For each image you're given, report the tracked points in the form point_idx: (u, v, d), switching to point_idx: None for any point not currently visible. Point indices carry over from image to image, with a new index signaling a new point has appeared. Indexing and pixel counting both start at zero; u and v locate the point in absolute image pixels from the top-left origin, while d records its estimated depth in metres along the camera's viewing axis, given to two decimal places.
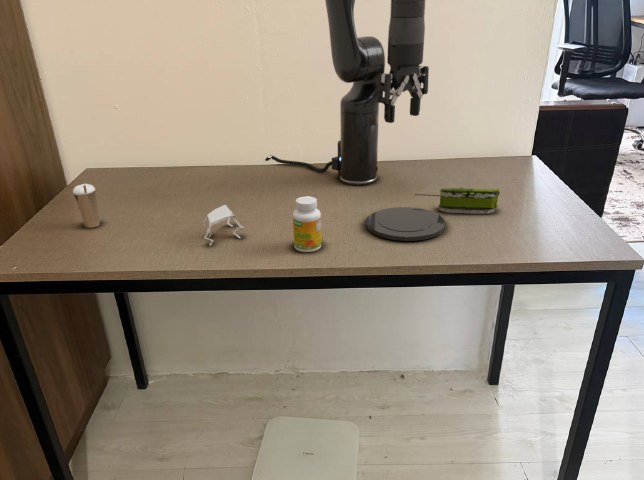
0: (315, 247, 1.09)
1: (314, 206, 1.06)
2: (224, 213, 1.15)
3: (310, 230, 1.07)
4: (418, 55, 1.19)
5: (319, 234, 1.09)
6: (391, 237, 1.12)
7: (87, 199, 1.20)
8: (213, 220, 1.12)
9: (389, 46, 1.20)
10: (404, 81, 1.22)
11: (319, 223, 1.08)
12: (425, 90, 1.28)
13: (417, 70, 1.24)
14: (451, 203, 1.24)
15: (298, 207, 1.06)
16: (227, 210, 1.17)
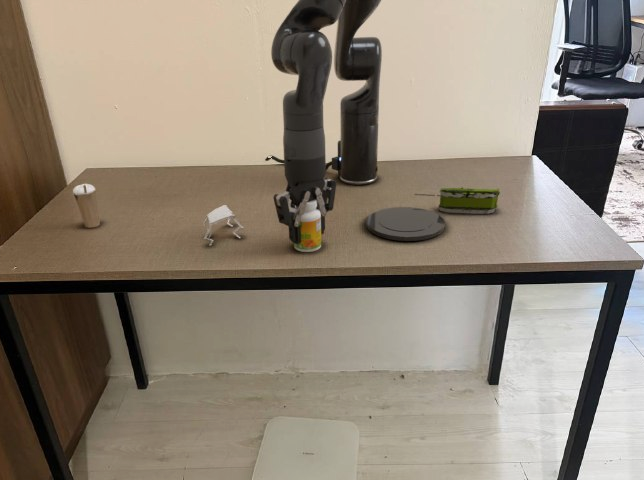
0: (315, 247, 1.09)
1: (314, 206, 1.06)
2: (224, 213, 1.15)
3: (310, 230, 1.07)
4: (317, 170, 1.01)
5: (319, 234, 1.09)
6: (391, 237, 1.12)
7: (87, 199, 1.20)
8: (213, 220, 1.12)
9: (284, 159, 1.02)
10: (304, 199, 1.04)
11: (319, 223, 1.08)
12: (330, 206, 1.10)
13: (321, 182, 1.06)
14: (451, 203, 1.24)
15: (298, 207, 1.06)
16: (227, 210, 1.17)
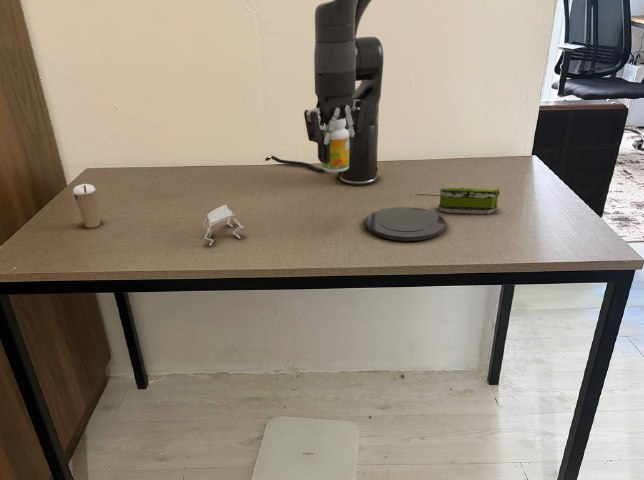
0: (343, 167, 1.11)
1: (343, 124, 1.07)
2: (224, 213, 1.15)
3: (338, 148, 1.08)
4: (347, 85, 1.02)
5: (347, 154, 1.10)
6: (391, 237, 1.12)
7: (87, 199, 1.20)
8: (213, 220, 1.12)
9: (315, 74, 1.03)
10: (334, 115, 1.05)
11: (348, 142, 1.09)
12: (358, 127, 1.11)
13: (350, 100, 1.07)
14: (451, 203, 1.24)
15: (327, 125, 1.07)
16: (227, 210, 1.17)
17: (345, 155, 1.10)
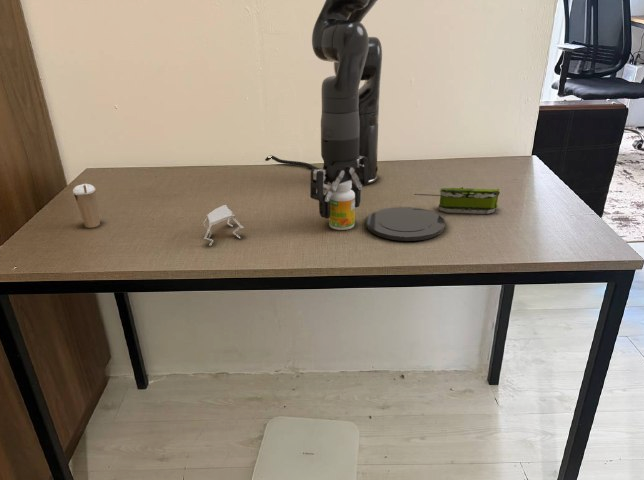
0: (349, 225, 1.18)
1: (349, 187, 1.15)
2: (224, 213, 1.15)
3: (345, 209, 1.16)
4: (352, 150, 1.09)
5: (353, 213, 1.18)
6: (391, 237, 1.12)
7: (87, 199, 1.20)
8: (213, 220, 1.12)
9: (321, 140, 1.10)
10: (339, 176, 1.12)
11: (353, 203, 1.17)
12: (365, 181, 1.19)
13: (354, 162, 1.15)
14: (451, 203, 1.24)
15: None
16: (227, 210, 1.17)
17: (351, 214, 1.17)
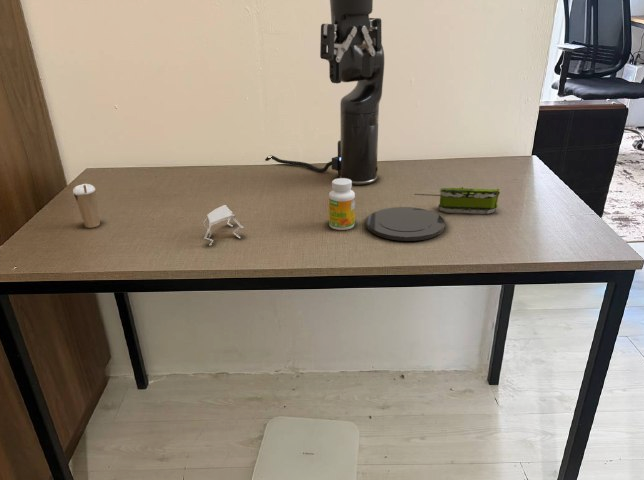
0: (349, 225, 1.18)
1: (349, 187, 1.15)
2: (224, 213, 1.15)
3: (345, 209, 1.16)
4: (365, 2, 1.02)
5: (353, 213, 1.18)
6: (391, 237, 1.12)
7: (87, 199, 1.20)
8: (213, 220, 1.12)
9: None
10: (351, 34, 1.05)
11: (353, 203, 1.17)
12: (378, 47, 1.11)
13: (366, 22, 1.07)
14: (451, 203, 1.24)
15: (334, 188, 1.15)
16: (227, 210, 1.17)
17: (351, 214, 1.17)
